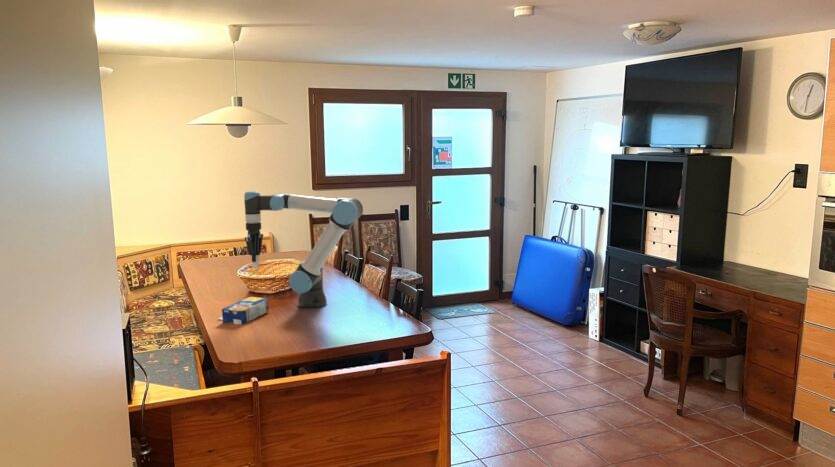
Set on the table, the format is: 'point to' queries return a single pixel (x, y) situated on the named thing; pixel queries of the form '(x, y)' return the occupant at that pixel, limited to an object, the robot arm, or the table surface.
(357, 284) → the table surface
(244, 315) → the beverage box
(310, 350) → the table surface
